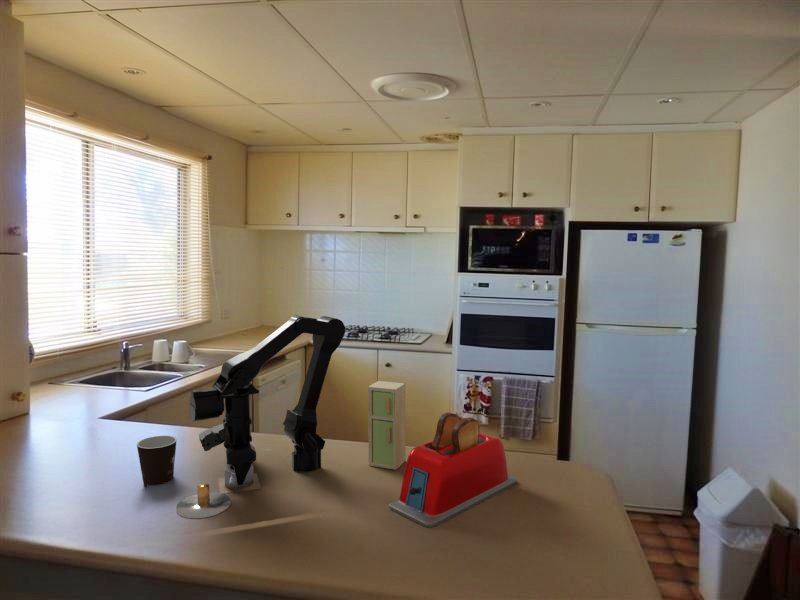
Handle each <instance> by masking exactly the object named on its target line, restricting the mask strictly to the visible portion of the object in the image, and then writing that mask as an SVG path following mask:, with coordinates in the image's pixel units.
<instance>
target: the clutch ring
mask: <svg viewBox="0 0 800 600" xmlns="http://www.w3.org/2000/svg"><path fill="white" fill-rule="evenodd" d="M223 469H224V470H223V471H224V472H223V473H224V475H223V476H224V477H223V478H224V479H225V487H227V488H229V489H242V488H246V487H248V486H251V485H252V484H253V483H254V480H253V473H254V464H253V463H252V465H251V467H250V469H249V471H248V474H247V476H246V478H245V481H244V483H243V485H238V483H237V479H236V475H235V470H234V467H233V466H232V465H229V464H227V463H226V465H225V466H224V467H223Z"/></svg>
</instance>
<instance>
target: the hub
mask: <svg viewBox="0 0 800 600" xmlns="http://www.w3.org/2000/svg"><path fill="white" fill-rule="evenodd" d="M196 491H197V493H196V494H192V495H189V496H187V497H185V498H183V499H181V500H180V501H179V502H178V503H177V505H176V507H175V510H176V513H177V514H178V516H180V517H182V518H187V519H205V518H209V517H213V516H215V515H219V514H220V513H222V512H224V511H226V510H228V509H229V508H230V506H231V502H232V501H231V500H232V499H231V497H230V496H229V495H228V494H227V493H225V494H223V493H220V492H216V491H210V484H209V483H208V482H207V483H206V482H204V483H200V484H198V485H197V490H196Z"/></svg>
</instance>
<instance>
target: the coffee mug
mask: <svg viewBox="0 0 800 600" xmlns="http://www.w3.org/2000/svg"><path fill="white" fill-rule="evenodd" d="M177 441H178V440H177V438H176V437H175V436H171V435H156V436H155V435H154V436H149V437H146V438H143V439H141V440H139V441H138V442H136V447H137V448H136V449H137V453H138V459H139V466H140V471H141V477H142V483H143V486H144V487H145V488H148V486H160V485H163V484H164V485H165V484H168V483H170V482H171V481H172V480H173V479H174V471H175V461H176V449H177Z"/></svg>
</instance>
